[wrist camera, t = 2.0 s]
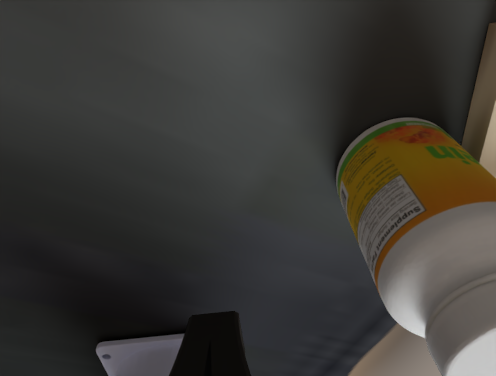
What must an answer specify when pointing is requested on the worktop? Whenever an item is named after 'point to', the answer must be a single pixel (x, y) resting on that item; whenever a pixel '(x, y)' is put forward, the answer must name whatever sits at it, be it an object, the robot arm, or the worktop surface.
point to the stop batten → (484, 109)
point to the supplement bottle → (427, 237)
